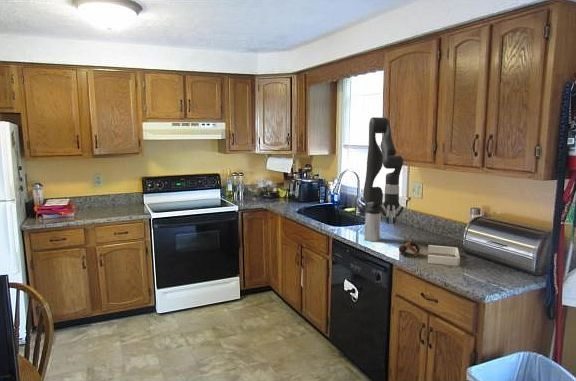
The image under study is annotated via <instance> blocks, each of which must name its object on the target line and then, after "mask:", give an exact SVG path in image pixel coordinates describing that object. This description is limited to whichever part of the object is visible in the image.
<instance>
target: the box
mask: <svg viewBox="0 0 576 381" xmlns="http://www.w3.org/2000/svg"><path fill="white" fill-rule="evenodd" d="M427 250H428V251H427V253H429V254H428V255H427V264H434V265H435V264H436V265H444V266H456V267H460V264H461V257H460V253H459V252H460V251H459V248H458V247H457V246H456V247H455V246H442V245H432V244H428V247H427ZM431 254H432V255H431ZM433 254H442V255H433ZM444 255H453V256H454V257H453V256H444Z"/></svg>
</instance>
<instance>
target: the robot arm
mask: <svg viewBox="0 0 576 381" xmlns="http://www.w3.org/2000/svg"><path fill="white" fill-rule="evenodd" d="M376 134H383V135H384V136H383V137H382V140H381V142H380V146H379V145H378V142H377V140H376V139H377V138H376V136H377V135H376ZM396 154H397V149H396V147H395V145H394V142H393V138H392V130H391V124H390V121H389V119H388V118H387V117H379V116H378V117H371V118H370V119H369V123H368V148H367V157H366V158H367V159H366V172H365V173H366V174H365V181H364V187H363V194H362V196H363V199H364V200H363V201H364V202H365V203H371V205H369V206H367V207H366V208H365V224H364V238H363V239H364V241H367V242H379V241H381V221H382V220H381V219H382V217H381V216H384V217H386V218H385V219H386V221H385V222H386V223H387V224H388V225H389V224H390V211H391V212H392V216H393V217H392V225H395V224H396V219H397V218H398V217H400V215H401V213H402V211H403V210H404V209H405V206H402V205H401V204H400V202H399V200H400V174H401V171H402V169H403V165H404V158H403V157H402V156H401V155H396ZM382 167H384V168H385V169H386V170H387V169H388V170H389V169H391V170H393V171H392V172H388V173H386V175H385V186H384V192H383V190H382V188H381V187H380V186H374V182H375V179H376V177H377V175H379V173H380V171H381V170H382ZM383 197H384V198H383ZM383 199H384V200H383ZM383 201H384V202H383ZM384 208H385V209H386V212H385V210H384ZM397 210H398V212H396V211H397Z"/></svg>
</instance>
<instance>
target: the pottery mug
mask: <svg viewBox="0 0 576 381" xmlns="http://www.w3.org/2000/svg"><path fill="white" fill-rule="evenodd" d="M407 250H410V251H412V252H413V253H414V254H413V257H414V258H416V257H417V256H419V255H420V251H421V247H420V246H419V244H417V243H416V242H413V241H408V242H406V243H404V245H402V244H401V245H400V246H399V247H398V251H399V252H400V255H402V256H403V255H405V253H406V251H407Z"/></svg>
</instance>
